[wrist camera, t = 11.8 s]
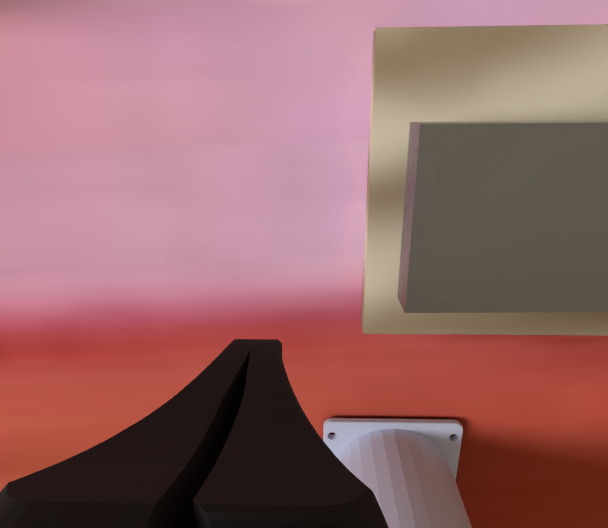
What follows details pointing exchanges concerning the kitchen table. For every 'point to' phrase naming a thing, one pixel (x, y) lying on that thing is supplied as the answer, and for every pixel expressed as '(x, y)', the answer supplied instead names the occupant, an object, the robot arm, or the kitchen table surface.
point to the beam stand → (464, 108)
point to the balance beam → (505, 217)
